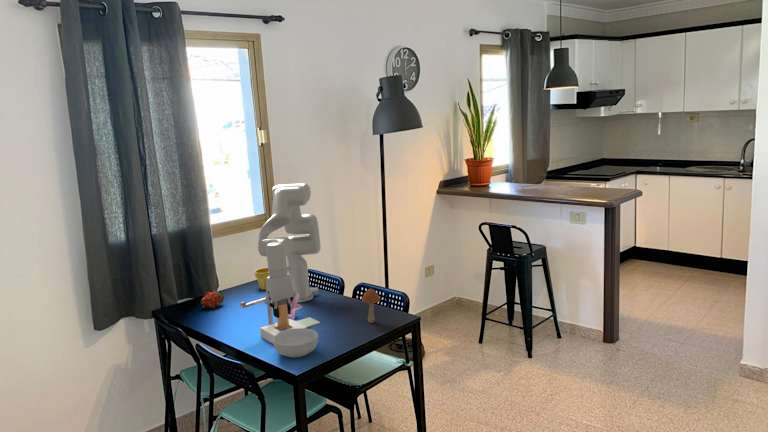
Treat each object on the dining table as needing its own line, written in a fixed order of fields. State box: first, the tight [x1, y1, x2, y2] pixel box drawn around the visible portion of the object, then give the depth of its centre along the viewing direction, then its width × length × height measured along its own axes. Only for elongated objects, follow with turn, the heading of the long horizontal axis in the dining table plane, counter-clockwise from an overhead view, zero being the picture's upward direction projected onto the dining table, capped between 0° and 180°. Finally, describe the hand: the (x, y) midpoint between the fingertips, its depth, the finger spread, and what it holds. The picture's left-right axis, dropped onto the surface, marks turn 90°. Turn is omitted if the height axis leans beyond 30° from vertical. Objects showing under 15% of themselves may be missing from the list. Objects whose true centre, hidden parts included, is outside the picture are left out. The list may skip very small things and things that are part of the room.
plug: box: [276, 299, 290, 328], centre depth 242 cm, size 5×5×12 cm
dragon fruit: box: [199, 290, 225, 309], centre depth 286 cm, size 8×8×12 cm
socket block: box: [259, 300, 308, 345], centre depth 244 cm, size 14×20×13 cm
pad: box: [295, 316, 321, 329], centre depth 256 cm, size 9×9×1 cm
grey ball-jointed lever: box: [239, 296, 267, 309], centre depth 245 cm, size 14×3×2 cm, turn 135°
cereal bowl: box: [273, 328, 319, 359], centre depth 225 cm, size 17×17×7 cm
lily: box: [288, 293, 303, 321], centre depth 267 cm, size 12×12×10 cm
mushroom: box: [361, 287, 381, 324], centre depth 252 cm, size 8×8×15 cm
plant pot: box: [254, 267, 269, 291], centre depth 311 cm, size 10×10×10 cm
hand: (282, 314), depth 242 cm, fingers closed on plug, 4 cm apart
